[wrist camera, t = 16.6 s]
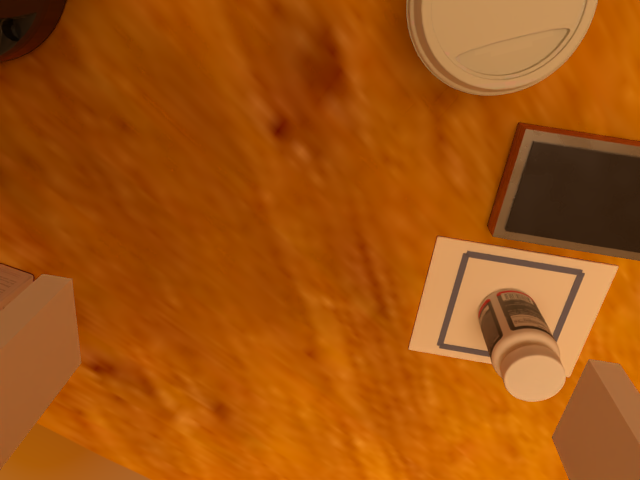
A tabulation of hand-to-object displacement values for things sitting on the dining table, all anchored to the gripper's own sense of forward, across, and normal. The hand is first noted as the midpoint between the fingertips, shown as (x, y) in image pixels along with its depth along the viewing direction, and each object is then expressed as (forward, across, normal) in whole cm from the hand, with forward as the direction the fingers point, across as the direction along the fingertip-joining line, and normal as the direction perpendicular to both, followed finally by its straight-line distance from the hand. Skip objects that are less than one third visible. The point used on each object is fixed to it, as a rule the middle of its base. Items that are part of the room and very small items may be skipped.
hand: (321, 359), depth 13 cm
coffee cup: (+27, +6, +9) cm, 29 cm away
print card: (+26, +15, -13) cm, 33 cm away
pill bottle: (+26, +15, -14) cm, 33 cm away
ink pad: (+26, +17, -2) cm, 31 cm away
